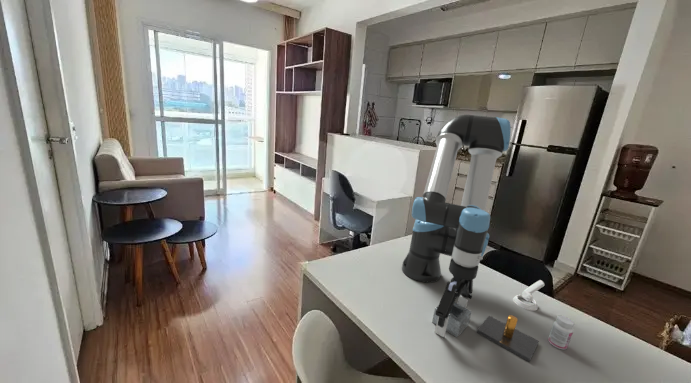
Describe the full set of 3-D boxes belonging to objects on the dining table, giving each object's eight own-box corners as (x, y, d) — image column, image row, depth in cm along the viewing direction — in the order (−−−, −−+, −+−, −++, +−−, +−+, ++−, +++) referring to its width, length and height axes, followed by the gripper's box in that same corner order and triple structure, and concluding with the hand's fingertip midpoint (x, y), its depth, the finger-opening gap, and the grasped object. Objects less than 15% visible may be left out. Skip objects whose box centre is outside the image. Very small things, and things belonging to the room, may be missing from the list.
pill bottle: (567, 352, 83) (577, 328, 81) (548, 344, 86) (556, 320, 83) (566, 342, 87) (575, 318, 85) (547, 335, 90) (555, 311, 87)
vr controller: (561, 300, 100) (551, 291, 97) (530, 319, 104) (520, 311, 101) (546, 283, 106) (536, 275, 104) (518, 302, 110) (508, 294, 108)
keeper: (476, 332, 88) (482, 312, 86) (488, 318, 95) (493, 299, 93) (529, 362, 78) (536, 340, 77) (537, 343, 86) (544, 323, 84)
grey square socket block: (431, 322, 90) (435, 308, 89) (443, 311, 96) (446, 298, 94) (457, 337, 85) (460, 322, 83) (468, 325, 90) (471, 311, 89)
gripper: (459, 281, 73) (442, 351, 78) (493, 255, 91) (477, 313, 96) (431, 269, 78) (418, 335, 83) (469, 246, 96) (455, 302, 101)
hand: (450, 324), depth 90 cm, fingers open, 13 cm apart
